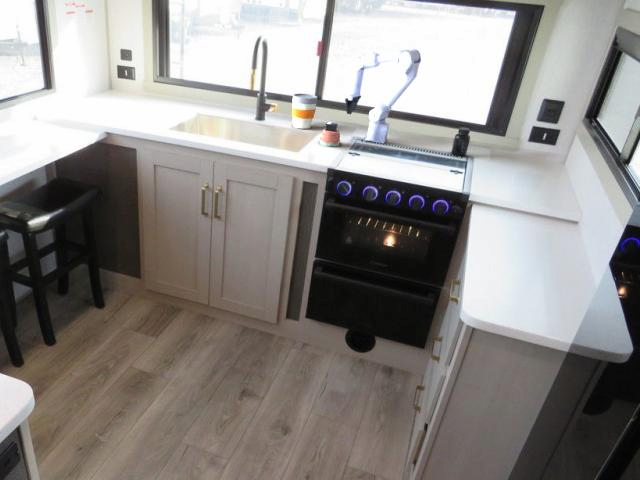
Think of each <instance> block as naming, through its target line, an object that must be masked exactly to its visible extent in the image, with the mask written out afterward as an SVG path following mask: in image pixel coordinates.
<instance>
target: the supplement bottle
mask: <svg viewBox="0 0 640 480" xmlns="http://www.w3.org/2000/svg"><path fill="white" fill-rule="evenodd" d="M470 131H471V129H470V128H468V127H459V128H458V130H457V132H458V133H456V134H455V135H454V138H453V143H452V147H451V151H450V153H451V155H453V156H456V157H465V156H466V155H467V153H468V149H469V144H470V141H471V136H470V135H469V134H470Z"/></svg>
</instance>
